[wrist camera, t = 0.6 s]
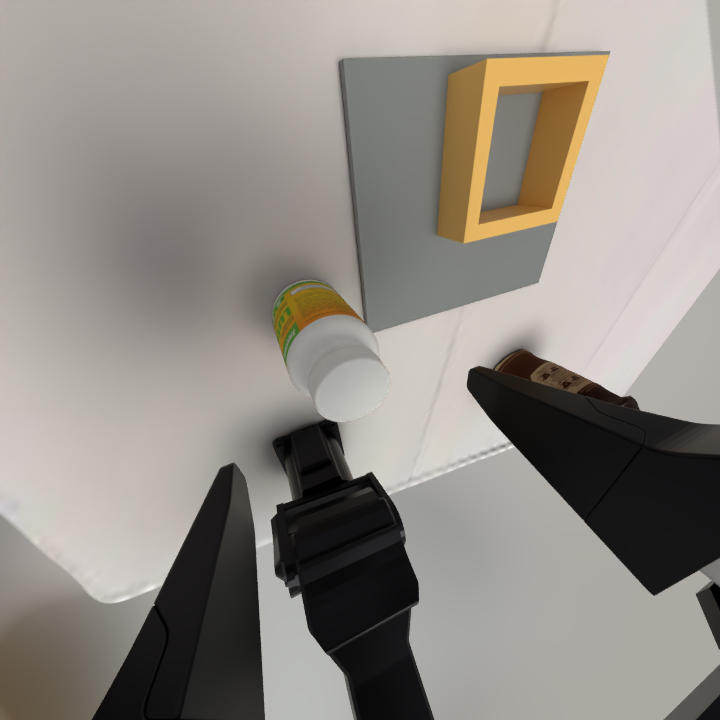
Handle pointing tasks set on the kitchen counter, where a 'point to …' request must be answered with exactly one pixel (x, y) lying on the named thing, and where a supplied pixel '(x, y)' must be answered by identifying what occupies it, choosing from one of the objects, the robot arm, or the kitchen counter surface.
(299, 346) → the supplement bottle
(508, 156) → the slate board
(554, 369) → the coffee cup
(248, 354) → the kitchen counter surface
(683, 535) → the robot arm
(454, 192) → the orange collar
